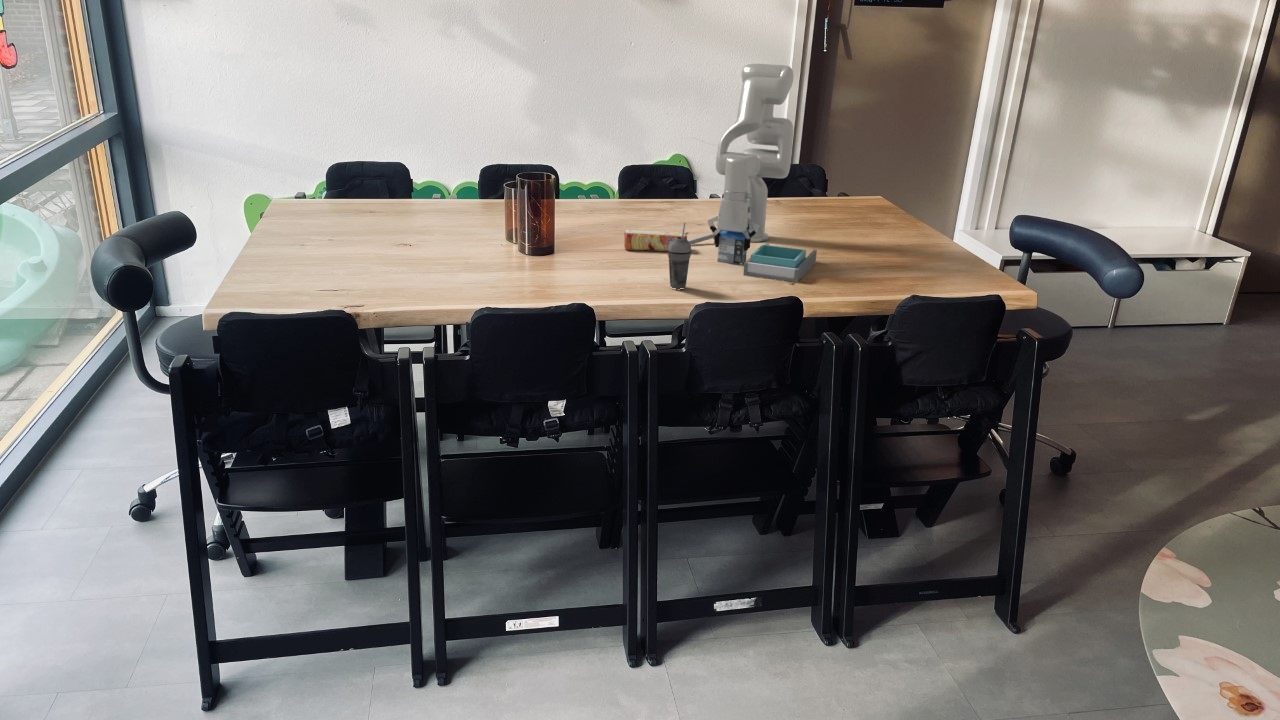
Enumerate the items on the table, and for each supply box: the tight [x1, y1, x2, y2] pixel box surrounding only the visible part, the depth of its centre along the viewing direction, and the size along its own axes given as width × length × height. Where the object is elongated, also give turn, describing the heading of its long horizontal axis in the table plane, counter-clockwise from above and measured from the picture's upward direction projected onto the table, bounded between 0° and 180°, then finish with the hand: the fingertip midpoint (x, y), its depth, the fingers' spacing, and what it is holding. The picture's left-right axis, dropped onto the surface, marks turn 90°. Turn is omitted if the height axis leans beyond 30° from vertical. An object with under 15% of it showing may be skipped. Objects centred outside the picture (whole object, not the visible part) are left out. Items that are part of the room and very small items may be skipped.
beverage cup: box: [666, 222, 692, 289], centre depth 295 cm, size 7×7×20 cm
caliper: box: [687, 230, 723, 246], centre depth 347 cm, size 20×1×6 cm, turn 115°
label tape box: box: [717, 227, 748, 266], centre depth 325 cm, size 9×4×12 cm, turn 63°
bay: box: [742, 243, 818, 283], centre depth 321 cm, size 17×26×4 cm, turn 158°
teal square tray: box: [750, 244, 807, 268], centre depth 317 cm, size 14×14×5 cm
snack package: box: [623, 229, 688, 252], centre depth 337 cm, size 21×7×7 cm, turn 88°
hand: (731, 248), depth 324 cm, fingers open, 9 cm apart
